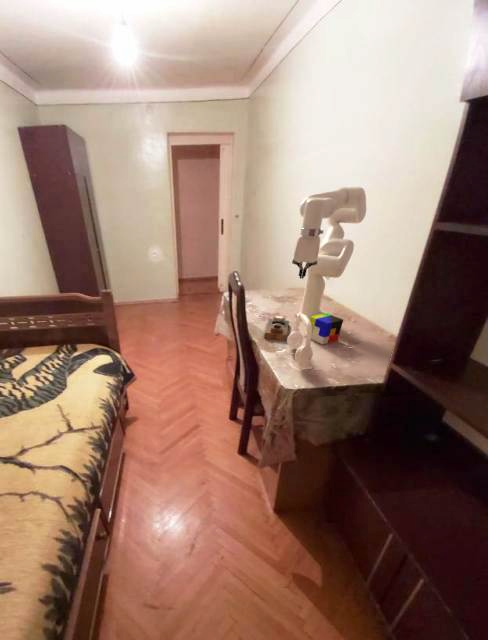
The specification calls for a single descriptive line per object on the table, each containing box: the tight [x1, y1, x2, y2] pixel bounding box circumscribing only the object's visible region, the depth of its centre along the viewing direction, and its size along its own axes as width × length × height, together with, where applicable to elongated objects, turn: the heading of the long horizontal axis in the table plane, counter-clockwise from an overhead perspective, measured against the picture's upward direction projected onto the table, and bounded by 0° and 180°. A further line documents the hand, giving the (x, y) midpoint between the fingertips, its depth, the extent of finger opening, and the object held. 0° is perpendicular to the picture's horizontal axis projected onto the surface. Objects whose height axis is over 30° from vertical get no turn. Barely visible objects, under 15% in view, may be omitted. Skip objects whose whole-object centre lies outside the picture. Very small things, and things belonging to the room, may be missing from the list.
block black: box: [267, 316, 290, 328], centre depth 161 cm, size 10×10×4 cm
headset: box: [286, 314, 314, 370], centre depth 127 cm, size 20×7×18 cm, turn 176°
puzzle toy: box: [305, 312, 344, 345], centre depth 147 cm, size 10×10×10 cm
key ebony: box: [274, 323, 281, 328], centre depth 150 cm, size 3×3×2 cm
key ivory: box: [275, 315, 284, 321], centre depth 160 cm, size 3×3×2 cm
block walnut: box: [264, 324, 289, 342], centre depth 152 cm, size 10×10×4 cm
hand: (301, 277), depth 145 cm, fingers closed
